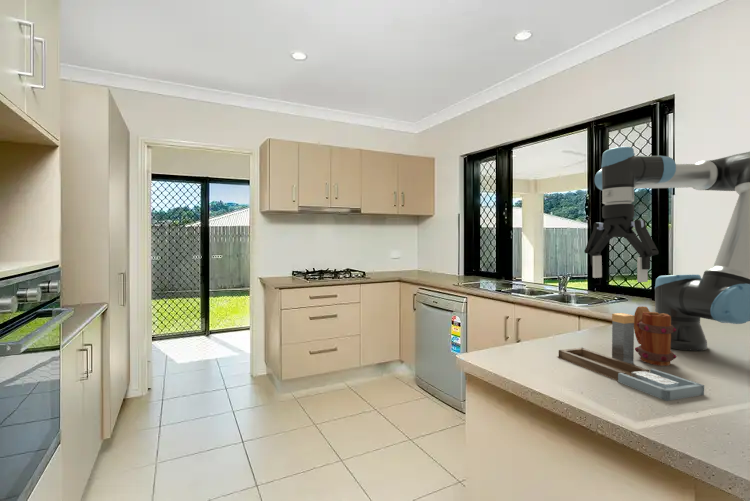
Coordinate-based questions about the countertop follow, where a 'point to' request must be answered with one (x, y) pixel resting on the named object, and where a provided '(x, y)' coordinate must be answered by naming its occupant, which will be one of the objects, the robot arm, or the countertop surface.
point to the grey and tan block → (623, 337)
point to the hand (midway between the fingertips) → (618, 279)
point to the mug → (653, 336)
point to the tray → (683, 391)
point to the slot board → (598, 362)
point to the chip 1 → (643, 375)
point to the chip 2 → (663, 382)
